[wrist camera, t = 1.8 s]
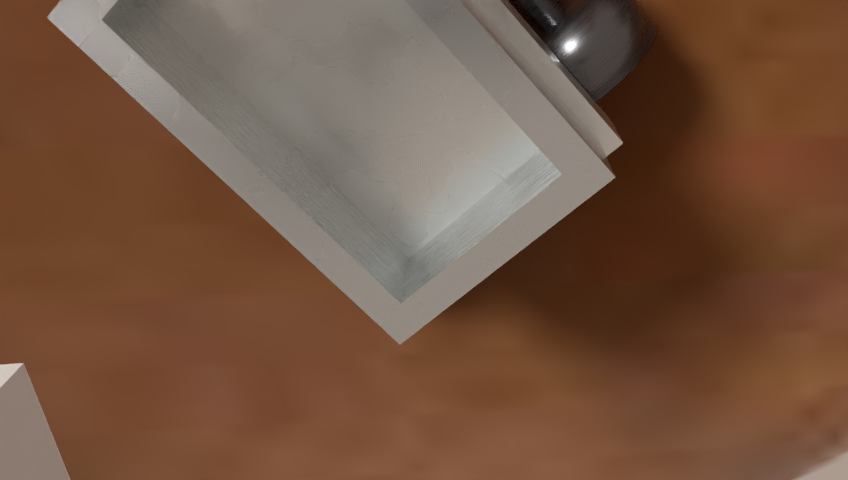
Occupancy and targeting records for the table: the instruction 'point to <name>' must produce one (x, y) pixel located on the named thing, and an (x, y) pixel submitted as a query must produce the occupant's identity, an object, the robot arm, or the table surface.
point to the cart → (383, 123)
